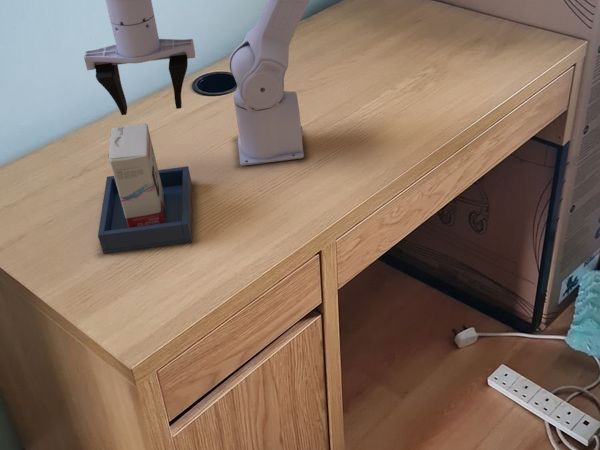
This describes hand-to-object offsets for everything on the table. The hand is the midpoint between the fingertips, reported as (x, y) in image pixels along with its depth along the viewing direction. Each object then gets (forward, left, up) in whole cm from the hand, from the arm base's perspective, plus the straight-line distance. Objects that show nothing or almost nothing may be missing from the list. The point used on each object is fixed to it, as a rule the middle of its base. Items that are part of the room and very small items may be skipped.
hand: (151, 108), depth 111 cm
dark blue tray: (+2, +11, -10) cm, 16 cm away
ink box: (+2, +11, -10) cm, 15 cm away
